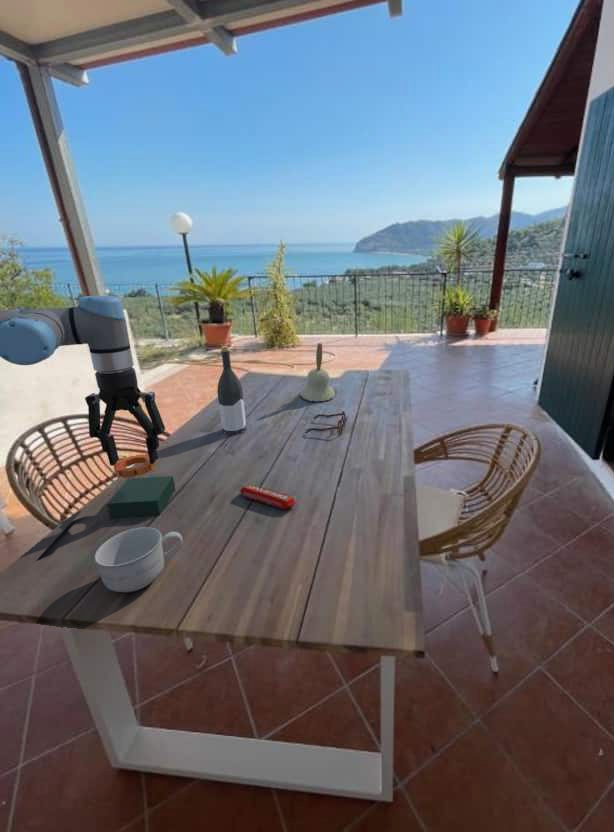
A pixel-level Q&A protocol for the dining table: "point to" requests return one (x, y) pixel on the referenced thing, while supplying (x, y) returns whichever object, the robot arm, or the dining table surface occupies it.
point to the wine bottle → (230, 398)
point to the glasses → (331, 427)
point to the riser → (141, 497)
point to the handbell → (317, 382)
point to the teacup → (134, 558)
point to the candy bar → (267, 496)
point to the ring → (132, 472)
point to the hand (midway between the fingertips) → (134, 461)
